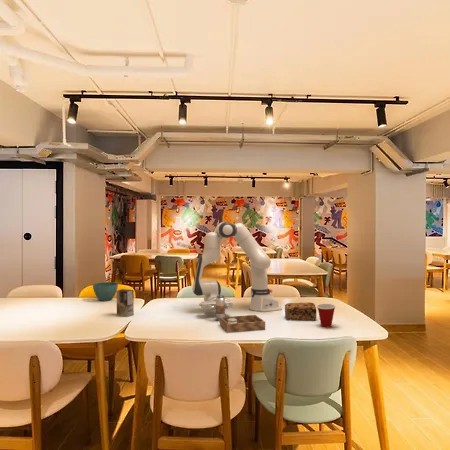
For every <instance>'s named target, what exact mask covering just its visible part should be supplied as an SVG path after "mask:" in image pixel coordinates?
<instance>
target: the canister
mask: <svg viewBox="0 0 450 450" xmlns="http://www.w3.org/2000/svg"><path fill="white" fill-rule="evenodd" d="M220 317H226V308H225V296H224V295H222V294H220V295H219V296H217V297H216V310H215V321H216V322H220Z"/></svg>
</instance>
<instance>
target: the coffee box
mask: <svg viewBox="0 0 450 450" xmlns="http://www.w3.org/2000/svg"><path fill="white" fill-rule="evenodd" d="M134 305H135V304H134V289H124V288H122V289H117V291H116V316H118V315H119V316H120V317H126V316H128V317H131V316H134V312H135V311H134ZM119 316H118V317H119Z"/></svg>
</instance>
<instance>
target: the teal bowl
mask: <svg viewBox="0 0 450 450" xmlns="http://www.w3.org/2000/svg"><path fill="white" fill-rule="evenodd" d="M118 286H119V284H118V282H113V281H105V282H98V283H93V284H92V288H93V292H94V295H95V296H96V298H97V299H98V300H99V301H100V302H108V301H112V299H114V297H115V295H117V291H118Z"/></svg>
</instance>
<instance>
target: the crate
mask: <svg viewBox="0 0 450 450" xmlns="http://www.w3.org/2000/svg"><path fill="white" fill-rule="evenodd" d="M229 318H235V319H237V323H233V324H228V319H229ZM219 325H220V327H221V328H222V329H223V330H224V331H225V332H226V333H238V332H253V331H265V330H266V321H265V320H263V319H262V318H261V317H259V316H257V315H256V314H250V315H249V314H248V315H234V316H225V317H220V321H219Z"/></svg>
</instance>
